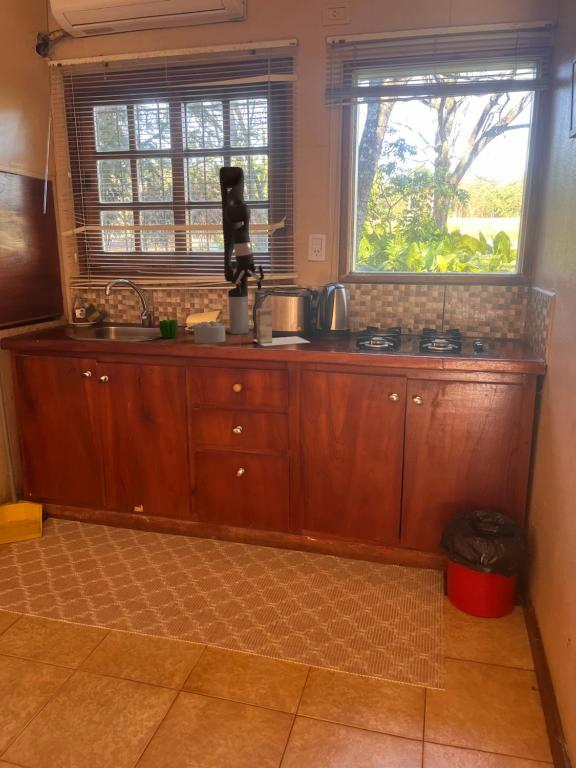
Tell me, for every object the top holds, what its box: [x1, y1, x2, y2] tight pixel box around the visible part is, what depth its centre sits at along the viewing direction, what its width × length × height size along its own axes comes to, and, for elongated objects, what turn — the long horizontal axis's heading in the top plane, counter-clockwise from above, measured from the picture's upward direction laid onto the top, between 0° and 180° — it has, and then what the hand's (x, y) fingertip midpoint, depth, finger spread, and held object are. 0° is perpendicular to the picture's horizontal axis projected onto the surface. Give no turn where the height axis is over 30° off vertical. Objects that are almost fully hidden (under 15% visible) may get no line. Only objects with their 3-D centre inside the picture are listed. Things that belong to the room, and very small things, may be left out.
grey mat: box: [252, 335, 310, 347], centre depth 235 cm, size 16×21×1 cm
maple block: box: [255, 307, 273, 345], centre depth 231 cm, size 5×5×14 cm
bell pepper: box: [158, 315, 179, 339], centre depth 248 cm, size 8×8×10 cm
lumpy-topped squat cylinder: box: [193, 320, 226, 345], centre depth 237 cm, size 10×13×9 cm
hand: (249, 291), depth 239 cm, fingers open, 8 cm apart
